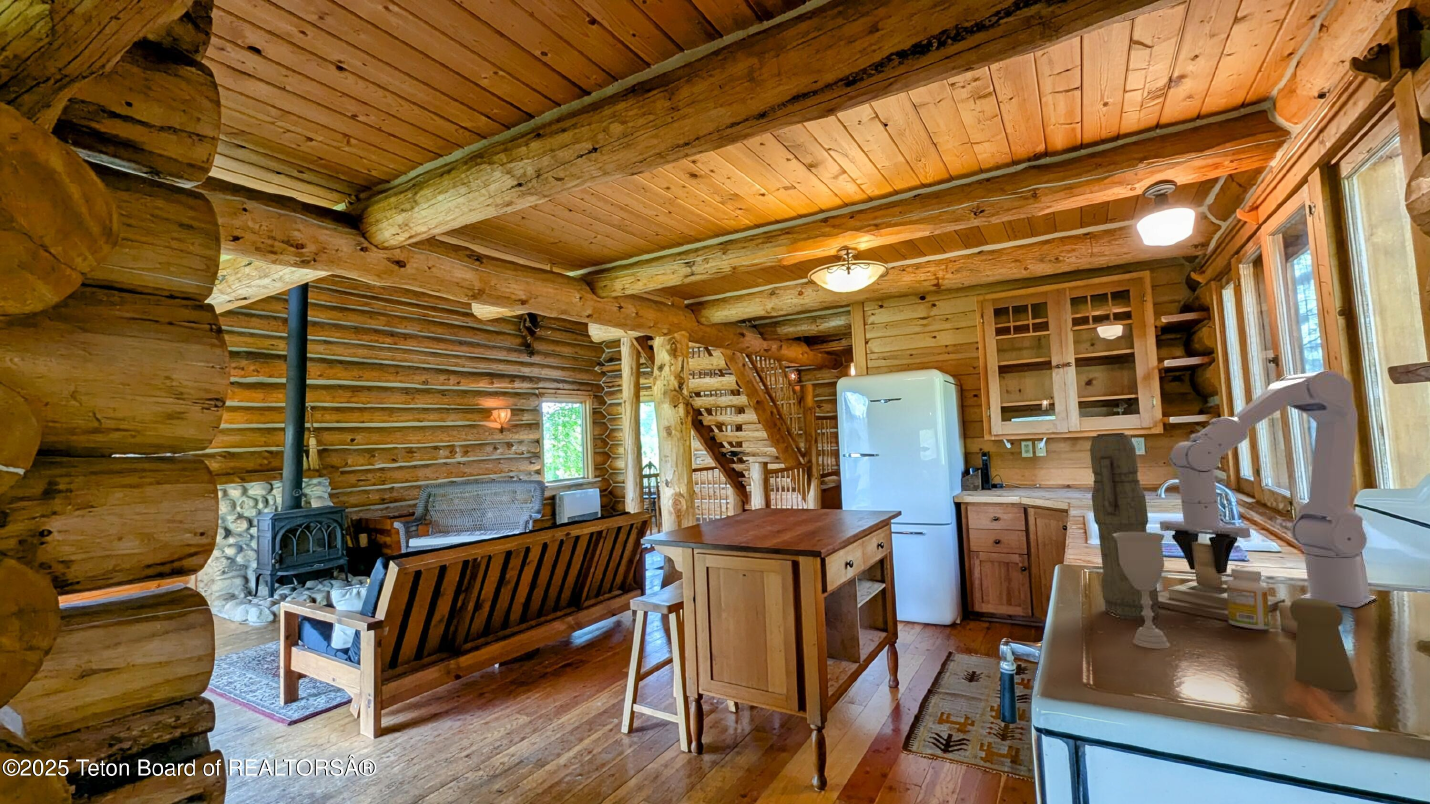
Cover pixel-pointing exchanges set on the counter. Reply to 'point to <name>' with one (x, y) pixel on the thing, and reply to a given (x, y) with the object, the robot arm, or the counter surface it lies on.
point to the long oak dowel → (1205, 565)
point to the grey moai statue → (1118, 519)
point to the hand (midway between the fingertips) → (1208, 570)
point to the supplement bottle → (1247, 600)
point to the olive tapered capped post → (1321, 646)
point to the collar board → (1205, 607)
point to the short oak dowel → (1287, 618)
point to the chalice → (1143, 577)
